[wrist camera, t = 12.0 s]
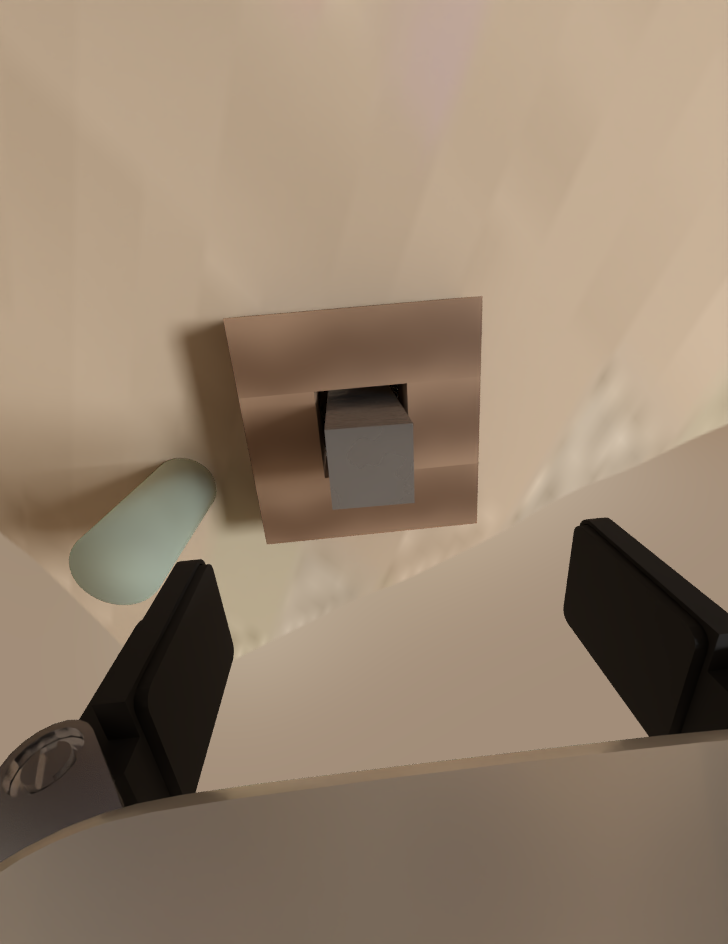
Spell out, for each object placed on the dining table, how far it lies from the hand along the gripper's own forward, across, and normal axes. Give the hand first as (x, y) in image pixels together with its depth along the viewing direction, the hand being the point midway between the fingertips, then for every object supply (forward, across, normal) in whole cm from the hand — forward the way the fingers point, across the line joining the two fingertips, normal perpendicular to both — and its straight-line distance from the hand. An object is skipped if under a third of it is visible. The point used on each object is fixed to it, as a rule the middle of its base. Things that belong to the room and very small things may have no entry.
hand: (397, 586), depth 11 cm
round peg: (+19, +13, +5) cm, 24 cm away
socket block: (+19, 0, +1) cm, 19 cm away
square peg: (+19, 0, +1) cm, 19 cm away
